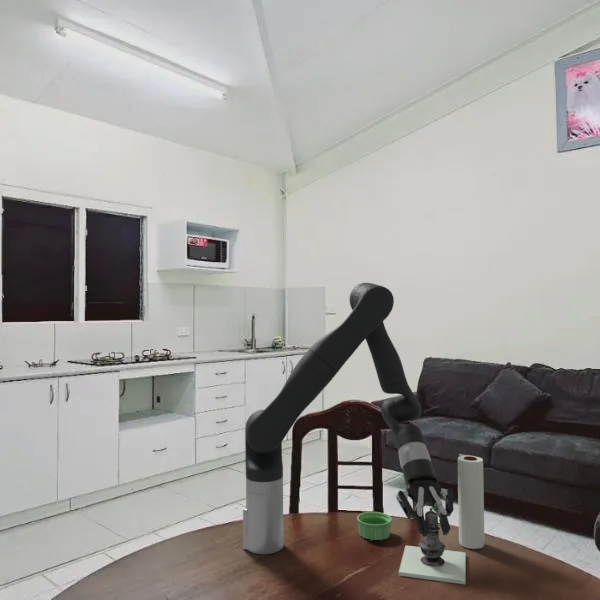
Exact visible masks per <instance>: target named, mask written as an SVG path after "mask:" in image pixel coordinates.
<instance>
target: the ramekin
mask: <svg viewBox="0 0 600 600" xmlns="http://www.w3.org/2000/svg"><path fill="white" fill-rule="evenodd" d="M356 520H357V527H358V534H359V536H360V537H361V536H362V537H363V538H362V537H361V538H362V539H364V538H366V539H365V540H367V539H370V540H369V541H373V540H380V541H384V540H383V539H385V540H387V539H388V538H389V537H390V535H391V526H392V517H391V515H388V514H387V513H383V512H378V511H367V512H362V513H360V514H358V515H357V516H356Z"/></svg>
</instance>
